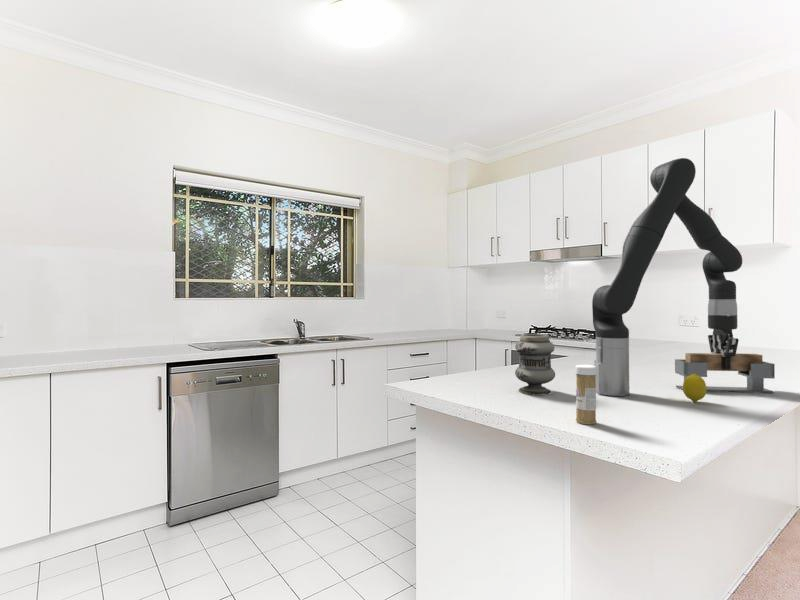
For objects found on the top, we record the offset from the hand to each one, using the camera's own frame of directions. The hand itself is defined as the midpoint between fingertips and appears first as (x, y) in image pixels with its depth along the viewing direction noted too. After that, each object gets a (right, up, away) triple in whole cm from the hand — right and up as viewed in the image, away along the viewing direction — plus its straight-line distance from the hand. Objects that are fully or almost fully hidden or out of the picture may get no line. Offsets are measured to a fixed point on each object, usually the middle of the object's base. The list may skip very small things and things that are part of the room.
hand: (722, 368), depth 140 cm
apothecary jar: (-59, -8, 0) cm, 59 cm away
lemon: (-19, -7, -16) cm, 26 cm away
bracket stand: (0, -7, 0) cm, 7 cm away
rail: (0, 0, 0) cm, 0 cm away
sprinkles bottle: (-58, -8, -35) cm, 68 cm away
